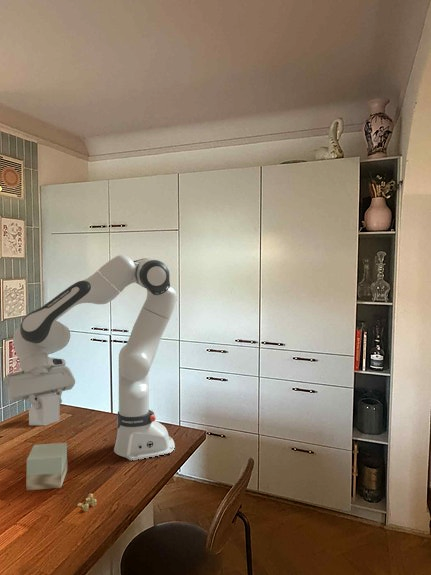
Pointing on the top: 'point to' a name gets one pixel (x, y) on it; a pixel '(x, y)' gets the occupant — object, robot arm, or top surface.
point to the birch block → (46, 480)
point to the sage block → (46, 459)
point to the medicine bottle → (33, 416)
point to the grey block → (48, 408)
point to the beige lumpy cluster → (90, 498)
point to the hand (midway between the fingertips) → (49, 405)
